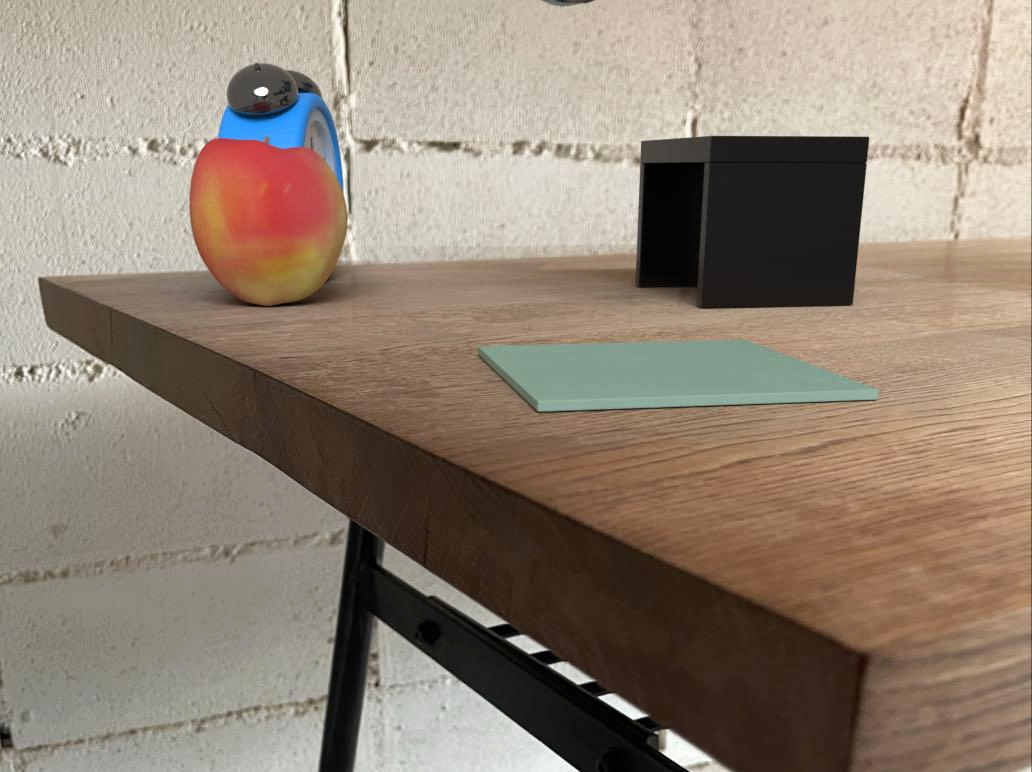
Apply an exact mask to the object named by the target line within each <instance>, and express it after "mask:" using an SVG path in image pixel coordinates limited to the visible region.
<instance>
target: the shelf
mask: <svg viewBox="0 0 1032 772" xmlns="http://www.w3.org/2000/svg"><path fill="white" fill-rule="evenodd" d="M869 147H870V136H853V135H852V136H845V135H844V136H843V135H842V136H840V135H839V136H833V135H832V136H831V135H829V136H828V135H827V136H826V135H825V136H822V135H821V136H820V135H819V136H817V135H811V136H809V135H704V136H690V137H675V138H662V139H648V140H641V141H640V159H639V160H640V161H639V162H640V164H639V183H638V185H639V186H638V207H637V208H638V209H637V210H638V211H637V234H636V236H637V237H636V259H635V261H636V262H635V282H634V283H635V286H636V287H638V288H666V287H667V288H668V287H669V288H672V287H697V291H696V292H697V293H696V307H697V308H699V309H700V308H701V309H728V308H729V309H730V308H731V309H733V308H735V309H737V308H777V307H778V308H779V307H780V308H781V307H782V308H783V307H824V306H825V307H826V306H829V307H831V306H853V305H854V295H855V287H856V275H857V266H858V265H857V264H858V257H859V255H858V254H859V246H860V238H861V237H860V235H861V226H862V215H863V207H864V195H865V184H866V175H867V166H868V165H867V164H868V163H867V162H868V157H869Z"/></svg>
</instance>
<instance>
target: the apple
mask: <svg viewBox="0 0 1032 772" xmlns="http://www.w3.org/2000/svg"><path fill="white" fill-rule="evenodd" d="M269 139H270V138H269V137H266V136H265V139H264V142H262V141H258V140H236V139H227V138H218V137H217V138H213V139H210V140H209V141H207V143H205V144H204V145H203V147H202V148H201V150H200V151H199V153H198V155H197V158H196V160H195V163H194V166H193V170H192V175H191V179H190V187H189V203H188V204H189V206H188V207H189V220H190V227H191V233H192V236H193V241H194V244H195V247H196V249H197V252H198V254H199V256H200V258H201V260H202V262H203V264H204V265H205V267H206V269H208V271H209V272H210V274H211V275H212V276H213V278H214V279H215V280H216V281H217V282H218V283H219V284H220V285H221V286H222V287H223V288H224V289H225V290H226V291H228V292H229V293H230V294H231V295H233V296H234V297H236V298H238V299H239V300H241V301H244V302H246V303H249V304H253V305H259V306H264V307H271V306H276V305H282V304H288V303H289V304H290V303H295V302H298V301H302V300H304V299H306V298H308V297H309V296H311V295H313V294H314V293H315V292H317V291H318V290H319V289H320V288H321V287H323V285H324V284H325V283H326V281H327V280H328V279H329V277H330V276H331V275H332V273H333V271H334V269H335V267H336V265H337V264H338V261H339V258H340V256H341V253H342V251H343V248H344V245H345V241H346V237H347V231H348V217H349V216H348V208H347V202H346V198H345V195H344V191H343V192H342V189H341V186H340V184H339V182H338V180H337V178H336V176H335V174H334V173H333V171H332V169H331V168H330V167H329V165H328V164H327V162H326V161H325V160H324V159H323V158H322V157H321V156H320V155H319V154H318V153H317V152H315V151H314V150H312V149H310V148H306V147H292V148H286V149H284V148H277V147H275V146H272V145H270V144H268V142H269Z"/></svg>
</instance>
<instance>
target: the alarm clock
mask: <svg viewBox="0 0 1032 772" xmlns="http://www.w3.org/2000/svg"><path fill="white" fill-rule="evenodd" d="M226 102H227V106H226V107H225V109H224V111H223V113H222V117H221V120H220V124H219V129H218V133H217V134H218V135H217V138H227V139H236V140H258V141H262V142H264V139H265V136H266V137H269V138H270V139H269V142H268V144H270V145H272V146H275V147H277V148H284V149H286V148H292V147H306V148H310V149H312V150H314V151H315V152H317V153H318V154H319V155H320V156H321V157H322V158H323V159H324V160H325V161H326V162H327V164H328V165H329V167H330V168H331V169H332V171H333V173H334V174H335V176H336V178H337V180H338V182H339V184H340V186H341V189H342V192H343V193H344V178H343V177H344V176H343V165H342V157H341V149H340V144H339V143H340V142H339V138H338V133H337V130H336V126H335V121H334V118H333V116H332V113H331V110H330V109H329V107H328V105H327V103H326V101H325V100H324V97H323V94H322V91H321V89H320V87H319V86H318V84H317V83H316V82H315V81H314V80H313V79H312V78H311V77H310V76H308V75H306V74H305V73H303V72H299V71H296V70H291V69H284V68H283V67H281V66H279V65H275V64H272V63H268V62H267V63H266V62H254V63H253V64H249V65H247V66H244V67H242V68H241V69H239V70H238V71H236V72H235V73H234V74H233V76H232V77H231V78H230V80H229V82H228V84H227V87H226Z"/></svg>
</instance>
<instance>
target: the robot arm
mask: <svg viewBox="0 0 1032 772" xmlns="http://www.w3.org/2000/svg"><path fill="white" fill-rule="evenodd" d="M541 1H542V2H543V3H546V4H549V5H552V6H557V7H560V8H561V7H562V8H563V7H571V6H577V5H581V4H584V5H586V4H589V3H592V2H594V1H596V0H541Z"/></svg>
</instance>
